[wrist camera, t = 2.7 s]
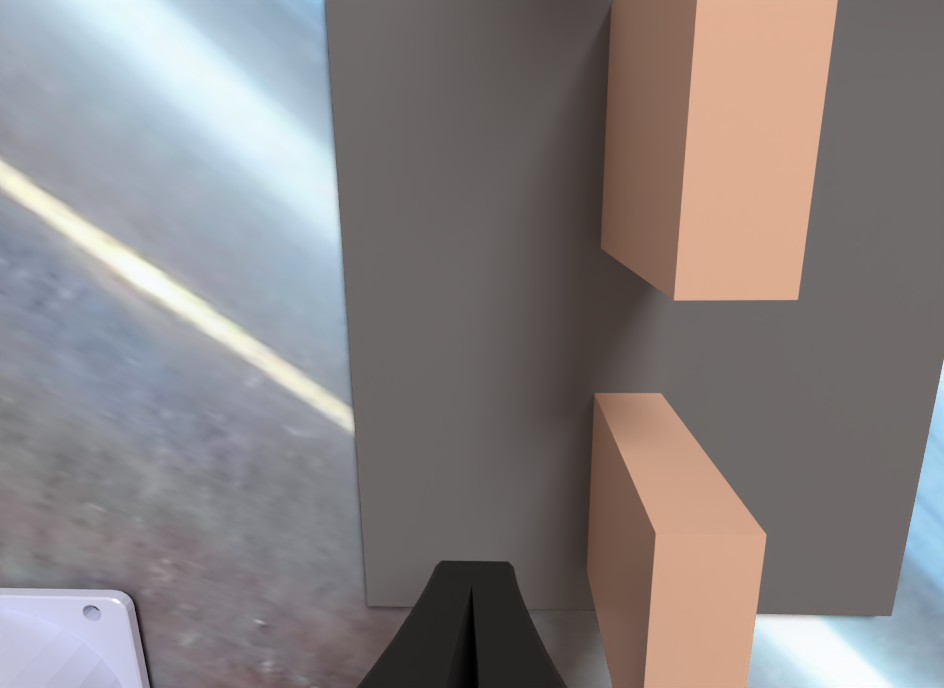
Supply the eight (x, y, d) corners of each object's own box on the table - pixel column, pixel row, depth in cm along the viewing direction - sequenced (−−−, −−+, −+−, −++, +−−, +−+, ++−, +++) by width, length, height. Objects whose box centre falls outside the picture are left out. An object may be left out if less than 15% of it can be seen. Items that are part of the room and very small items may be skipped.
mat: (370, 596, 17) (367, 606, 17) (326, -49, 13) (321, -57, 12) (881, 605, 16) (890, 616, 16) (1016, -71, 12) (1033, -80, 12)
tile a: (586, 570, 16) (635, 792, 10) (594, 392, 15) (655, 533, 9) (651, 571, 16) (737, 795, 10) (664, 393, 15) (773, 534, 9)
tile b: (600, 248, 14) (673, 300, 8) (610, 3, 12) (708, -146, 7) (676, 247, 14) (805, 299, 8) (695, 1, 12) (867, -152, 7)
